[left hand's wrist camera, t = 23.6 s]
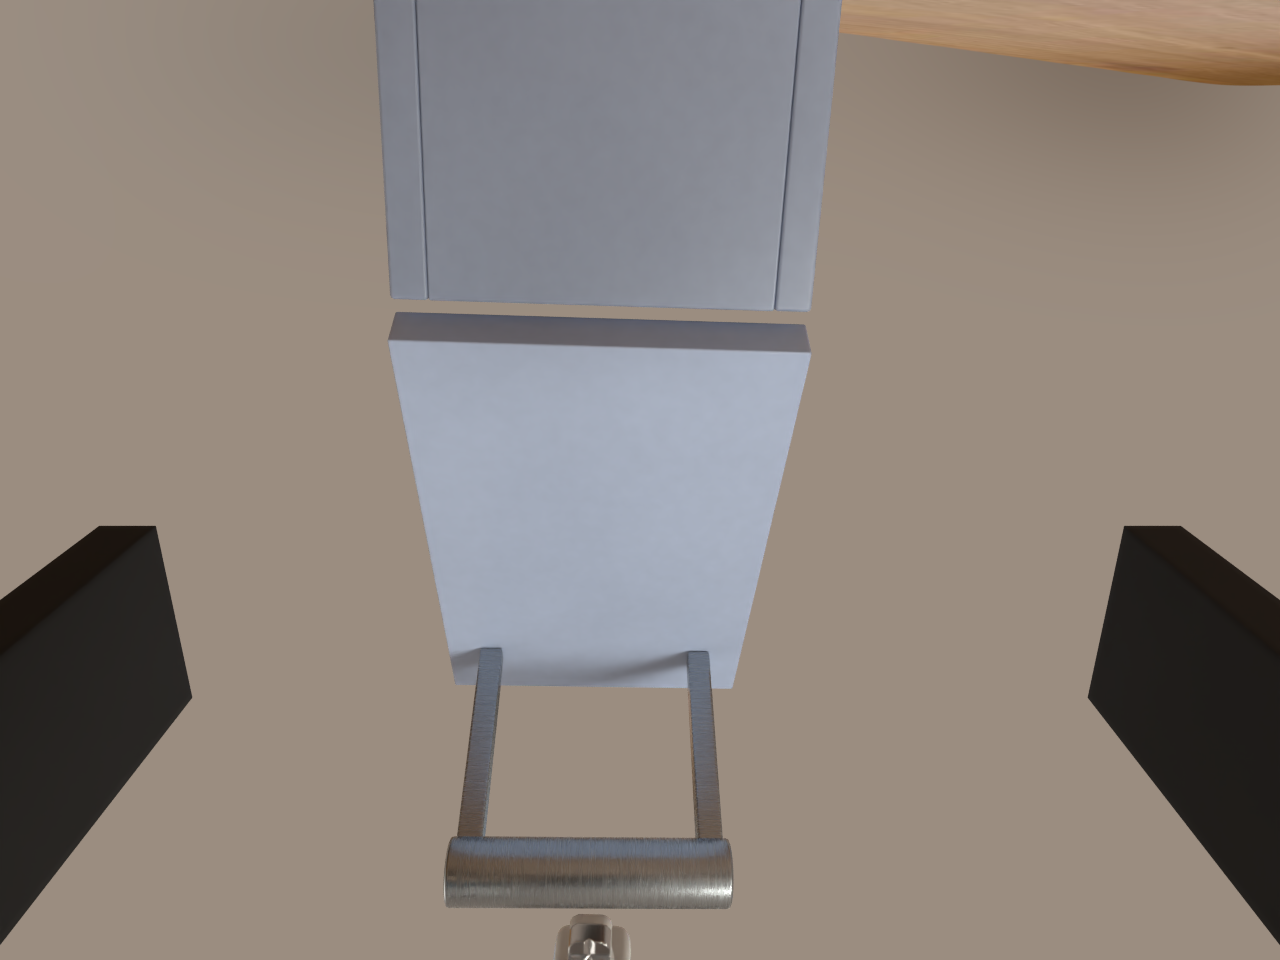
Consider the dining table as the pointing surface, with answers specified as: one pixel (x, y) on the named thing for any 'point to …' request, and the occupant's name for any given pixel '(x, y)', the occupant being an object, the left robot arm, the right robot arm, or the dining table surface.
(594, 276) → the chest
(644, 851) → the lid
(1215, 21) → the dining table surface
